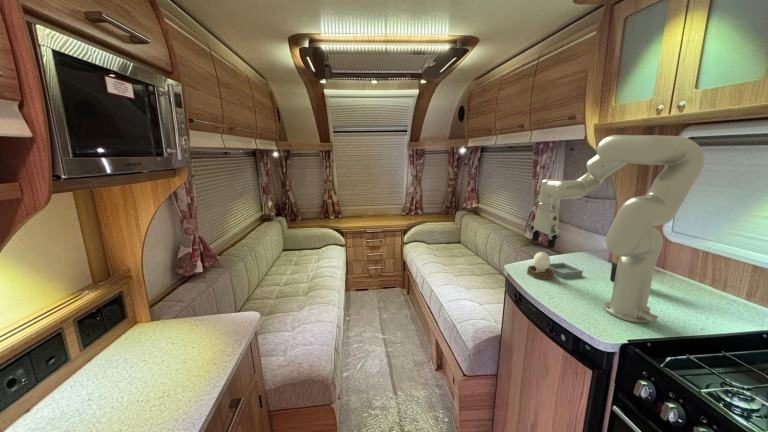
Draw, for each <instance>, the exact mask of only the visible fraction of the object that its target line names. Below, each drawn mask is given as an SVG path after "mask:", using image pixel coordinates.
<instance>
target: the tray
mask: <svg viewBox="0 0 768 432" xmlns="http://www.w3.org/2000/svg"><path fill="white" fill-rule="evenodd" d="M548 268H550V269H552V270H554V273H553V276H556V277H558V278H559V279H566V278H567V279H569V278H577V277H583V270H582V269H579V268H577V267H575V266H572V265H570V264H567V263H566V262H555V263H554V262H553V263H550V265H549V267H548Z"/></svg>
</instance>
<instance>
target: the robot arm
mask: <svg viewBox="0 0 768 432" xmlns="http://www.w3.org/2000/svg"><path fill="white" fill-rule="evenodd" d="M596 153H597V154H595V155H594V156H593V157H591V158H590V159H589V160H587V162H586V168H587V169H586V170H587V172H586V173H585V174H584V175H582V176H581V177H579V178H578V179H575V180H572V179H571V180H559V179H555V178H546V179H542V180H541V183H540V191H539V197H538V198H539V199H538V205H537V210H536V212H535V217H534V220H533V221H530V228H531V230H532V231H531V233H532V237H531V241H532V242H539V240H540V232H541V233H542V234H546V235H547V236H548V240H547V245H546V248H548V249H554V248H555V245H556V240H557V239H558V238H559V237H560V235H561V234H562V231H561V230H560V228H559V223H560V222H559V219H560V218H559V217H560V214H559V211H558V210H559V201H560V200H571V199H579V198H583V197H585V196H587V195H589V194H590V193H592V192H593V191H595V190H596V189H598V188H599V187H600V186H601V185H602V184H603V182H604V181H605V179H606V178H607V177H609V176H610V175H612V174H614V173H615V172H616V171H618V170H620V169H621V168H622V167H624V166H626V165H628V164H634V165H635V164H636V165H645V166H647V165H648V166H654V165H655V166H657V165H658V166H659V165H662V166H663V165H664V168H663V169H662V171H660V173H659V174H658V175H657V176H656V177H655V178H654V180H653V182H652V184H651V186H650V188H649V190H648V191H647V193H646V194H645V195H640V196H635V197H632V198H629V199H628V200H626V201H625V202H624V203H623V204H622V205H621V206H620V208H619V210H618V212H617V213H616V216H615V217H614V220H613V221H612V223H611V225H610V227H609V229H608V232H607V233H606V236H605V246H606V249H608V251H609V252H610V253H611V254H613V255H617V256H620V257H619V260H618V264H617V269H616V275H615V281H614V282H613V287H612V293H611V299H610V301H609V302H606V303H604V306H603V307H604V310H605V311H606V312H608V314H610V315H612V316H614V317H616V318H619V320H620V319H621V320H624V321H627V322H631V323H632V322H633V323H637V324H638V323H639V324H642V323H651V324H655V323H656V322H657V319H658V318H659V317H658V315H656V314H654V313H651V307H649V306H648V303H649V297H650V292H651V289H652V288H651V287H652V282H653V276H654V273H655V269H656V264H657V261H658V259H659V256H660V253H661V252H662V249H663V245H664V238H663V235H662V233H661V232H660V230H659V229H657V228H655V226H661V225H662V226H663V225H665V224H668V223H670V222H672V220H673V219H674V218H675V216H676V215H677V213H678V212H679V209H680V208H681V206H682V204H683V202H685V199H686V198H687V196H688V195H689V193H690V191H691V189H692V187H693V185H694V184H695V182H696V181H697V179H698V177H699V176H700V174H701V173H702V170H703V168H704V165H705V154H704V151H703V150H702V148H701V147H700V145H699V144H698V143H697V142H695V141H694V140H692V139H689V138H687V137H684V136H678V135H658V134H657V135H656V134H653V135H645V134H642V135H635V134H633V135H629V134H611V135H608V136H606V137H604V138H603V139H602V140H601V141H600V142H599V143H598V145H597V148H596Z"/></svg>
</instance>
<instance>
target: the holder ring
mask: <svg viewBox="0 0 768 432" xmlns="http://www.w3.org/2000/svg"><path fill="white" fill-rule="evenodd" d="M545 271H546V274H543V273H538V272H536V267H535V266H534V265H528V267H527V271H526V274H527V276H531V278H535V279H538V280H539V279H540V280H553V278H554V274H553V273H554V270H552V269H550V268H547V269H545Z"/></svg>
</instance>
